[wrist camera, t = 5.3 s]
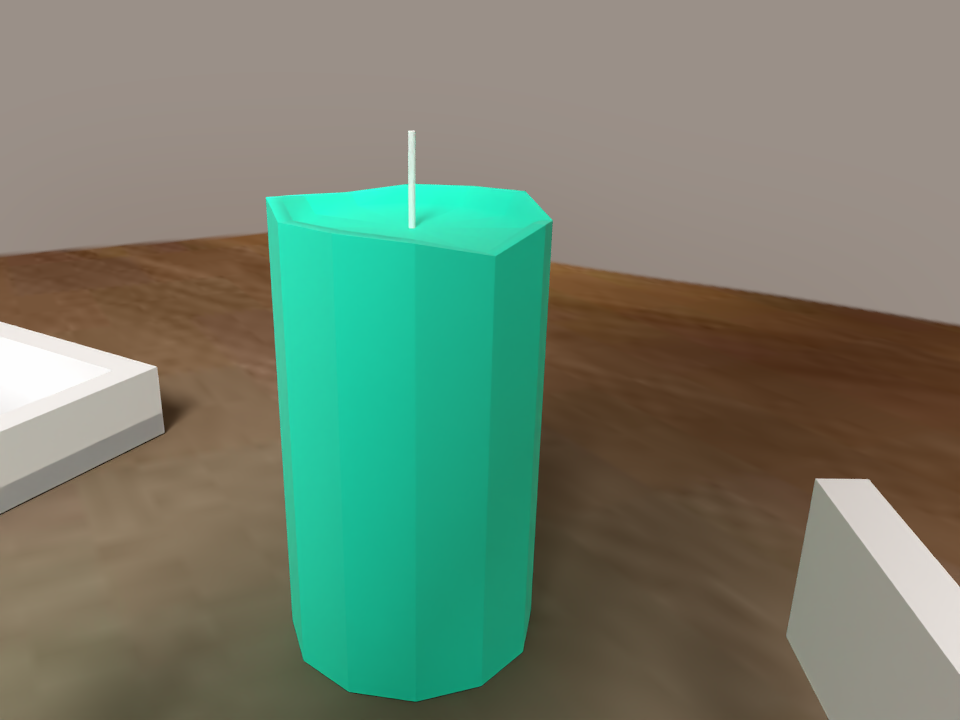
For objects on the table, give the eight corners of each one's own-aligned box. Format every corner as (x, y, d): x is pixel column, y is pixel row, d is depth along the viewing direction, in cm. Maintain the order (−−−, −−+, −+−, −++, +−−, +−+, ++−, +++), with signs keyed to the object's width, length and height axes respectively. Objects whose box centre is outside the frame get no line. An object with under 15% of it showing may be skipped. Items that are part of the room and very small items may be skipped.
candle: (278, 708, 20) (237, 153, 15) (303, 551, 25) (278, 110, 21) (549, 696, 20) (585, 157, 16) (515, 545, 26) (536, 114, 21)
